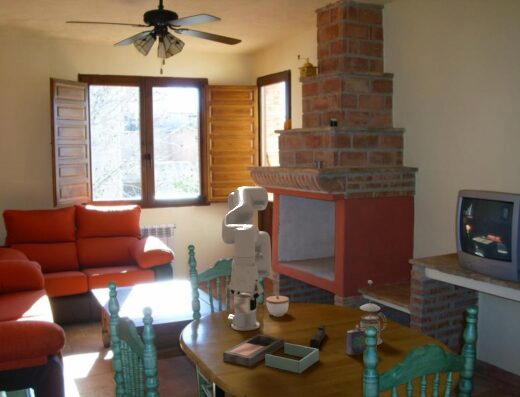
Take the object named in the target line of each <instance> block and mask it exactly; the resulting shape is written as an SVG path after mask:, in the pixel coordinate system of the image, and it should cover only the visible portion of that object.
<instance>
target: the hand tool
mask: <svg viewBox="0 0 520 397" xmlns="http://www.w3.org/2000/svg"><path fill="white" fill-rule="evenodd" d="M325 333H326V326H325V324H320V325H319V326H318V327H317V331H316V332H315V334H314V336H313V337H312V338H311V339H310V340H309V347H310V348H315V349H319V347H320V345H321V342H322V340H323V339H324V338H325V336H326V334H325Z"/></svg>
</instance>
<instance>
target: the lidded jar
mask: <svg viewBox="0 0 520 397" xmlns="http://www.w3.org/2000/svg"><path fill="white" fill-rule="evenodd" d="M265 301H266V308H267V310H268V313H270V315H271V316H272V315H273V316H272V317H283V316H284V315H285V314H286V313H287V312H288V309H289V302H290V299H289V297H288V296H285V295H279V294H277V295H272V296H267V297H266V298H265Z"/></svg>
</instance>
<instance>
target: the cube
mask: <svg viewBox="0 0 520 397" xmlns="http://www.w3.org/2000/svg"><path fill="white" fill-rule="evenodd" d="M253 295H254V294H253ZM257 299H258V298H257ZM257 299H256V300H257ZM233 300H234V301H233V302H234V304H233V305H234V307H233V308H234V313H235V312H237V313H243V314H250V313H252V312H254V311H256V312H257V310H258V307H256V309H255V310H252V311H251V310H250V300H251V297H250V294H249V293H241V294H238V295H236V296H234V297H233Z"/></svg>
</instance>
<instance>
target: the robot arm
mask: <svg viewBox="0 0 520 397" xmlns="http://www.w3.org/2000/svg"><path fill="white" fill-rule="evenodd" d="M268 202H269V193H268V190H267V189H266V187H264V186H260V185H259V186H257V185H256V186H241V187H237V188H236V189H235V190H234V192H231V193H229V194H228V196H227V205H228V210H229V212H227V213H226V214H225V215H224V217H223V220H222V223H221V225H222V226H221V238H222V241H223V243H225V244H226V245H234V256H232V257H231V258H232V261H231V274H230V282H229V284H227V289H229V290H230V292H231V294H232V295H233V298H234V296H236V295H238V294H241V293H249V294H250V297H251V300H250V310H251V311H252V310H255V309H256V307H257V306H258V303H257V300H256V299H259V297H261V295H262V294H263V293H264V292H265V290H264V288H263V287H262V285H261V284H260V279H259V278H267V277H270V276H271V274H272V267H273V266H272V265H273V264H272V245H271V244H272V243H271V242H272V241H271V236H270V234H269V233H268V232H267V231H263V230H262V231H261V230H260V229H259V228H258V226H257V225H255V224H254V220H253V219H252V218H253V216H255V211H264V210H266V209H267V207H268ZM257 253H258V254H260V255H256V254H257ZM253 294H254V295H253ZM257 308H258V307H257ZM227 320H228V321H232V323H231V325H230V327H231V329H233V330H236V331H241V332H242V331H243V332H244V331H245V332H246V331H247V332H248V331H255V330H257V329H258V328H260V322H259V321H257V310H256V311H254V312H252V313H250V314H243V313H237V312H234V314H232V313H231V314H229V315H228V317H227Z"/></svg>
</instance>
